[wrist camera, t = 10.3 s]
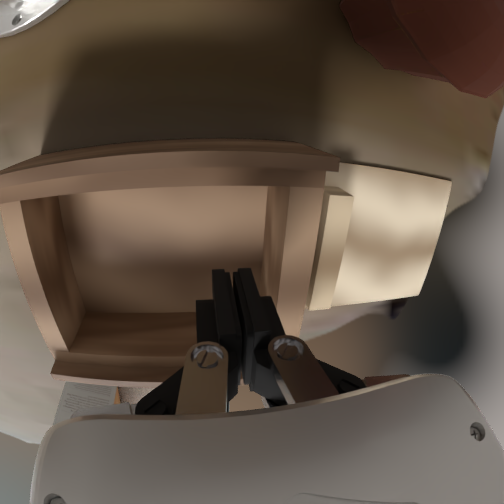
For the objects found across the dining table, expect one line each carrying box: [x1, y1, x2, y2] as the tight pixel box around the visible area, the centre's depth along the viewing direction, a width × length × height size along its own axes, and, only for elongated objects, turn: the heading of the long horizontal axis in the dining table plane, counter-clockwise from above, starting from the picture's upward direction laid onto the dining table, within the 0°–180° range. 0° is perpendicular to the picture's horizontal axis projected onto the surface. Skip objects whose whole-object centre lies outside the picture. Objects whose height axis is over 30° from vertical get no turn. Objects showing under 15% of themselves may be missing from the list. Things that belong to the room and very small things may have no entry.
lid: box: [305, 162, 452, 311], centre depth 19 cm, size 11×14×3 cm
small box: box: [53, 381, 120, 425], centre depth 19 cm, size 8×6×10 cm
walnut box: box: [0, 138, 340, 388], centre depth 15 cm, size 13×16×6 cm
